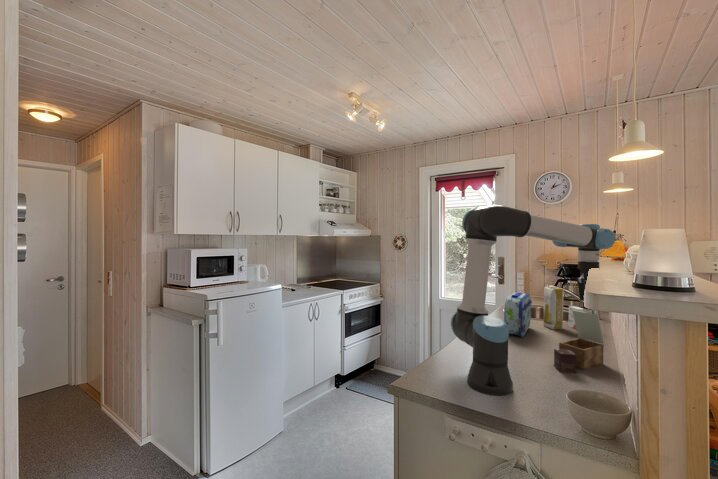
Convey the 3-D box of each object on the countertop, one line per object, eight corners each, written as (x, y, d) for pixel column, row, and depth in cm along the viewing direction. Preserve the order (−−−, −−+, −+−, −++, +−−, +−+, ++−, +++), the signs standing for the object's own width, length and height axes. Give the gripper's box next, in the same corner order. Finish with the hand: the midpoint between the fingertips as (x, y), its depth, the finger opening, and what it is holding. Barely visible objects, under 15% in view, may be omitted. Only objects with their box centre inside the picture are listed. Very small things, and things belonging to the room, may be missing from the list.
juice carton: (541, 325, 196) (542, 284, 195) (553, 325, 197) (554, 284, 196) (552, 330, 186) (553, 287, 186) (565, 329, 187) (566, 287, 187)
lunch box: (524, 339, 170) (525, 298, 169) (501, 335, 176) (502, 296, 175) (532, 327, 191) (533, 291, 190) (512, 324, 197) (513, 289, 197)
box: (576, 373, 130) (576, 354, 129) (559, 372, 131) (559, 353, 131) (569, 367, 136) (570, 349, 135) (553, 365, 137) (553, 348, 137)
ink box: (586, 330, 186) (586, 309, 186) (577, 330, 186) (577, 309, 186) (576, 326, 195) (576, 305, 194) (567, 326, 195) (568, 305, 194)
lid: (597, 315, 136) (598, 314, 136) (572, 310, 145) (573, 309, 145) (603, 343, 139) (604, 343, 139) (578, 337, 148) (579, 336, 148)
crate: (583, 370, 132) (584, 350, 132) (558, 361, 141) (559, 342, 141) (603, 363, 139) (603, 344, 139) (577, 355, 148) (578, 337, 148)
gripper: (589, 262, 134) (588, 320, 135) (606, 260, 140) (605, 316, 141) (570, 260, 141) (569, 316, 142) (587, 259, 147) (586, 312, 148)
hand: (587, 316), depth 142 cm, fingers closed
